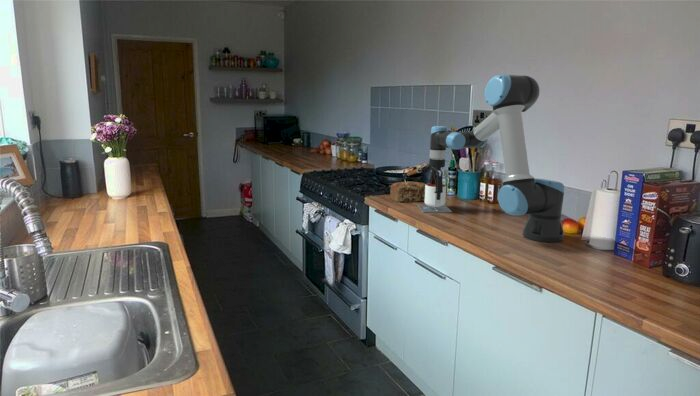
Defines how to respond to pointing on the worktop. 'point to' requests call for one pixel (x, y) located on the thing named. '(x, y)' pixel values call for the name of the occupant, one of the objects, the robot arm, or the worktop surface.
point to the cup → (433, 195)
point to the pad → (434, 209)
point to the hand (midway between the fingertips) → (434, 203)
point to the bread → (408, 191)
